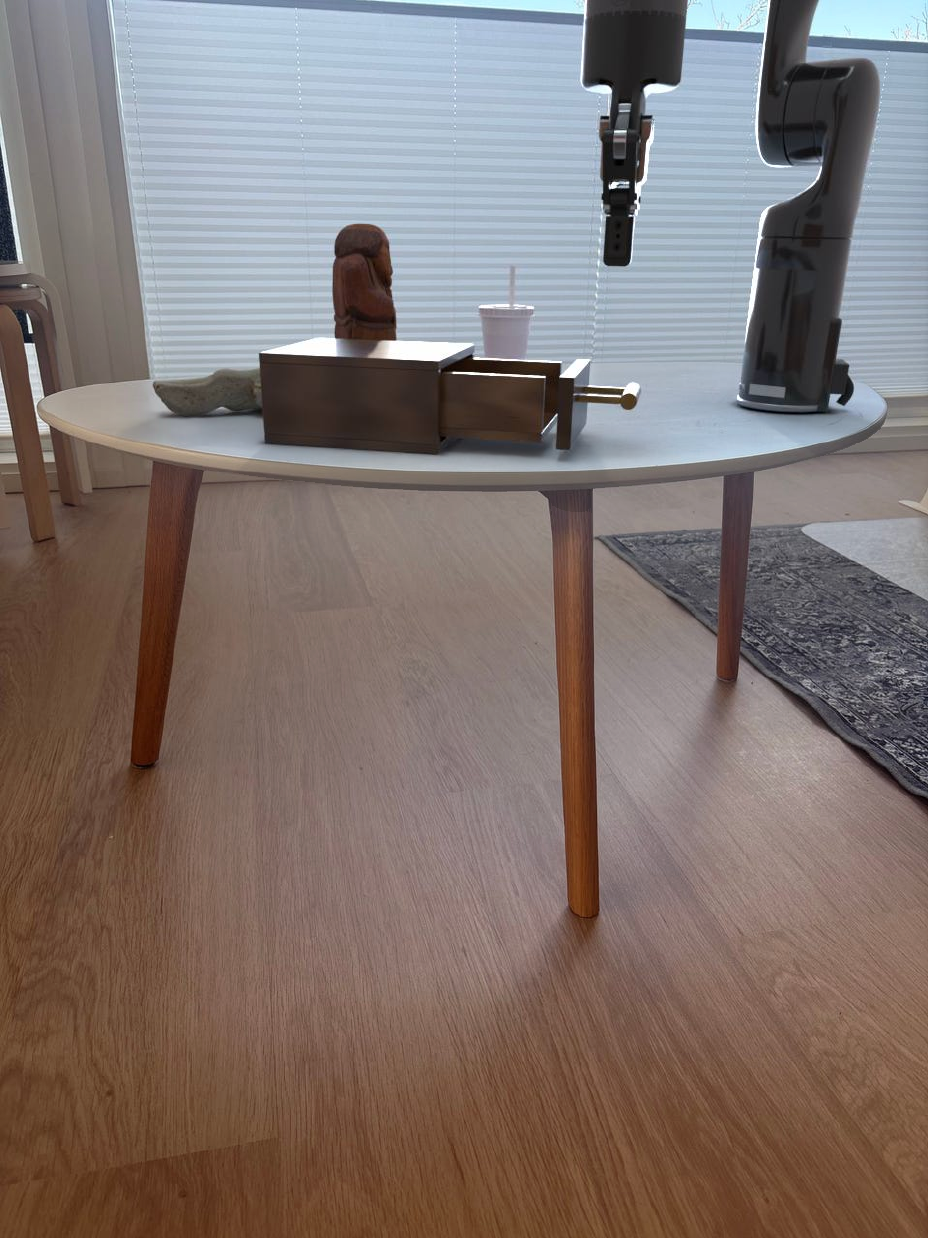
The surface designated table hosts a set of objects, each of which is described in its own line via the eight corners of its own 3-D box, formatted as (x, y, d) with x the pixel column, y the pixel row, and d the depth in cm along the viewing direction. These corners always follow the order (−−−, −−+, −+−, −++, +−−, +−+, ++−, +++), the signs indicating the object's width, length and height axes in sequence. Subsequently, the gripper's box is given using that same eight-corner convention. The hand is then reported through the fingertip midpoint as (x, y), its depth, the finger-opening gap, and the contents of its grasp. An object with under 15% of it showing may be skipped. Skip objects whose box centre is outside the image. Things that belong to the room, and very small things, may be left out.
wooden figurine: (406, 406, 100) (404, 223, 93) (347, 407, 98) (341, 222, 91) (385, 389, 110) (382, 224, 103) (331, 390, 108) (325, 223, 102)
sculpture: (160, 430, 89) (315, 411, 93) (150, 379, 88) (308, 362, 91) (159, 421, 96) (304, 404, 100) (150, 373, 94) (298, 357, 98)
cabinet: (473, 425, 90) (474, 343, 87) (437, 454, 78) (438, 360, 75) (321, 416, 93) (317, 337, 90) (264, 442, 81) (258, 352, 78)
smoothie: (527, 399, 105) (532, 266, 100) (471, 396, 106) (473, 265, 101) (534, 391, 111) (540, 265, 105) (481, 388, 112) (484, 264, 107)
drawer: (639, 426, 86) (645, 361, 84) (630, 454, 75) (637, 380, 72) (436, 414, 90) (436, 352, 88) (399, 439, 79) (398, 369, 76)
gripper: (685, -8, 62) (661, 269, 69) (687, 32, 74) (666, 264, 81) (573, -3, 64) (560, 267, 70) (593, 35, 76) (580, 263, 82)
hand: (617, 265), depth 76 cm, fingers closed
